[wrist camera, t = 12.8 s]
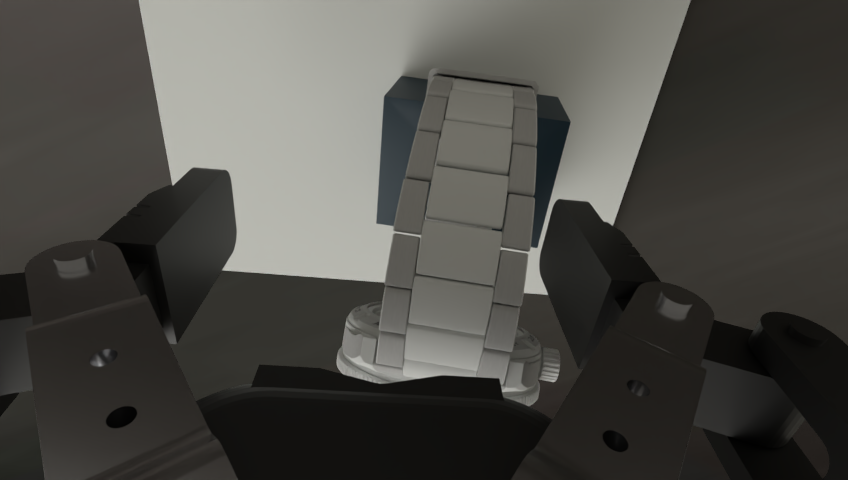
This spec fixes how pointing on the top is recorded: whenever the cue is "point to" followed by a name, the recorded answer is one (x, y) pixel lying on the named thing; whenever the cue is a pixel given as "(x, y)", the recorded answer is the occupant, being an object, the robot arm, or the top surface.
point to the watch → (460, 232)
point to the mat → (364, 97)
